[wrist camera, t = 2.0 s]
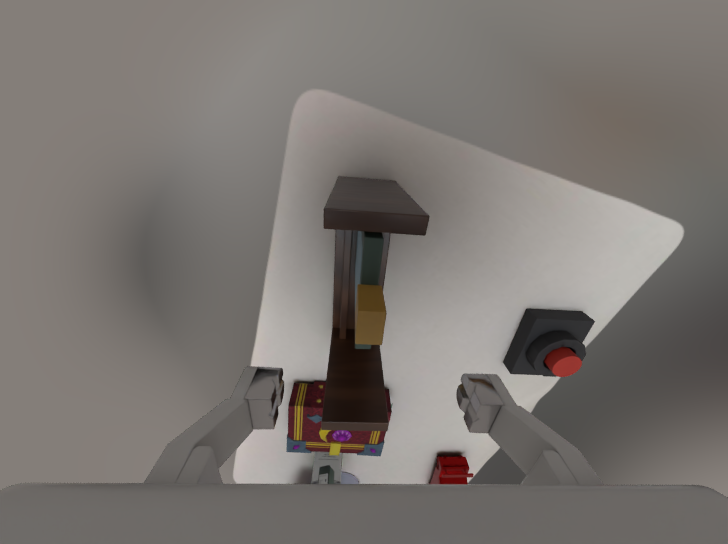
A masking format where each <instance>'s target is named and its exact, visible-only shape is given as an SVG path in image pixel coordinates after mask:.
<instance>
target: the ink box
mask: <svg viewBox="0 0 728 544" xmlns="http://www.w3.org/2000/svg"><path fill="white" fill-rule="evenodd" d="M341 467H342V453H339V456H337V455H329V452H315V457H314V465H313V473H312V481H311V484H341Z"/></svg>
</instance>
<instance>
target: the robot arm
mask: <svg viewBox="0 0 728 544" xmlns="http://www.w3.org/2000/svg"><path fill="white" fill-rule="evenodd" d="M282 376H283V369H282V368H272V367H252V366H247V367H246V368H245V369H244V371H243V373H242V375H241V377H240V379H239V381H238V383H237V385H236V387H235V389H234V391H233V393H232V395H231V398H230V399H226V400H224V401H223V402H222V403H220V404H219V405H218V406H216V407H215V408H214V409H213V410H211V411H210V412H209V413H207V414H206V415H205V416H203V417H202V418H201V419H200V420H198V421H197V422H196V423H195V424H193V425H192V426H191V427H189V428H188V429H187V430H185V431H184V432H183V433H181V434H180V435H179V436H178V437H176V438H175V439H174V440H172V441H171V442H170V443H169V444H168V445H167V446H166V448H165V449H164V451H163V453H162V454H161V456H160V458H159V459H158V461H157V463H156V464H155V466H154V467H153V469H152V470H151V472H150V474H149V475H148V477H147V478H146V480H145V482H144V483H20V484H15V485H11V486H9V487H6V488H4V489H2V490H0V544H728V497H726V496H724V495H723V494H721V493H719V492H717V491H715V490H714V489H711V488H708V487H705V486H699V485H604V484H603V482H602V481H601V480H600V478H599V477H598V476H597V474H596V473H595V471H594V470H593V469H592V467H591V466H590V465H589V463H588V462H587V460H586V459H585V458H584V457H583V455H582V454H581V452H580V451H579V450H578V449H577V448H576V447H574V446H573V445H572V444H570V443H569V442H567V441H566V440H565V439H564V438H562V437H561V436H560V435H558V434H557V433H556V432H554V431H553V430H552V429H550V428H549V427H548V426H546V425H545V424H544V423H542V422H541V421H540V420H538V419H537V418H536V417H534V416H533V415H532V414H530V413H529V412H528V411H526V410H525V409H524V408H522V407H521V406H517V405H516V403H515V402H514V400H513V398H512V397H511V395H510V394H509V392H508V390H507V389H506V387H505V386H504V384H503V382H502V381H501V379H500V378H499V376H498V375H496V374H463V375H462V377H461V382H462V384H461V385H459V386H458V389H457V401H458V405H459V407H460V409H461V410H462V411H463V412H465V415H464V420H465V422H466V425H467V427H468V430H469V432H472V433H489V435H490V437H491V438H492V439H493V440H494V441H495V442H496V443H497V444H498V445H499V446H500V447H501V448H502V449H503V450H504V452H505V453H506V454H508V456H509V457H510V458H511V459H512V460H513V461H514V462H515V463H516V464H517V465H518V467H519V468H520V469H521V470H522V471H523V472H524V473H525V474H526V477H525V479H524V480H523V482H522V483H521V485H501V484H500V485H499V484H498V485H496V484H486V485H484V484H480V485H479V484H475V485H474V484H471V485H470V484H223V483H222V480H221V476H220V473H219V467H221V466H222V464H223V463H224V462H225V461H226V460H227V459H228V458H229V457H230V456H231V454H232V453H233V452H234V451H235V450H236V449H237V448H238V447H239V446H240V444H241V443H242V442H243V441H244V440H245V439H246V438H247V437H248V436H249V434H250V433H251V432H252V431H253V429H274V427H275V424H276V420H277V417H278V406H280V405H281V402H282V399H283V393H284V381H283V380H282Z"/></svg>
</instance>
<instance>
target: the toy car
mask: <svg viewBox="0 0 728 544" xmlns="http://www.w3.org/2000/svg"><path fill="white" fill-rule="evenodd" d="M436 461H437V466H436V467H435V470H434V474H433V477H432V480H431V482H429V484H468V483H467V478H466V477H473V474H468V471H469V466H468V463H467V460H466V457H463V456H461V455H460V456H457V457H447V456H444V457H442V456H437V458H436Z"/></svg>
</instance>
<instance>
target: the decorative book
mask: <svg viewBox="0 0 728 544" xmlns="http://www.w3.org/2000/svg"><path fill="white" fill-rule="evenodd" d="M325 388H326V382H318V381H314V384H305V383H294V385H293V389H292V394H291V398H290V402H289V408H288V435H287V452H300V453H311V451H315V452H329V455H337V456H339V453H357V455H368V456H381V452H382V449H383V445H384V437H385V433H386V431H344V430H321V421H322V413H323V404H324V396H325ZM385 395H386V404H387V412H388V420H389V421H390V416H391V412H392V411H391V407H392V405H391V403H390V396H389V389H385ZM392 404H393V403H392Z"/></svg>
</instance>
